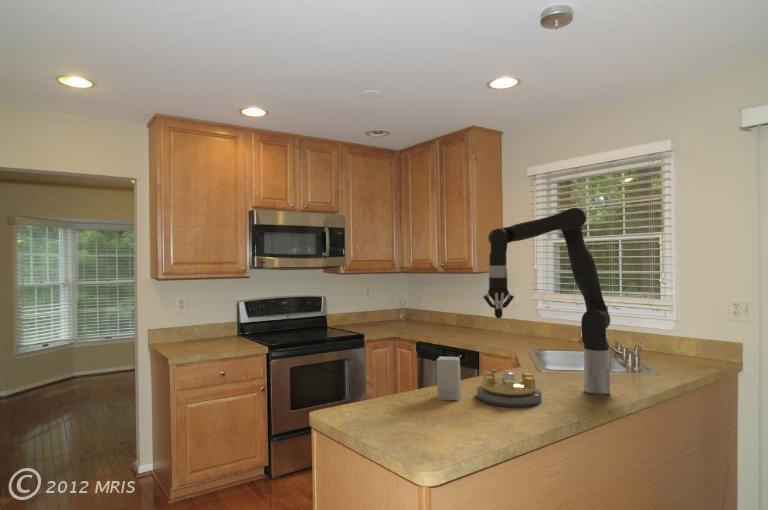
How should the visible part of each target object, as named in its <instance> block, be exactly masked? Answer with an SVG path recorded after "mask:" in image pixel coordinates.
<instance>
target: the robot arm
mask: <svg viewBox="0 0 768 510" xmlns="http://www.w3.org/2000/svg"><path fill="white" fill-rule="evenodd" d="M586 222H587V215H586V213H585V211H584V210H583V209H582V208H579V207H570V208H567V209H565V210H563V211H561V212H558V213H556V214H553V215H550V216H547V217H542V218H538V219H533V220H529V221H524V222H520V223H516V224H513V225H510V226H507V227H501V228H495V229H493V230H491V231H490V233H489V234H488V237H487V238H488V242H489V243H490V253H489V268H488V291H487V293H486V294H485V295H483V296H482V298H483V299H484V301H485V302H486V303H487V304H488V306H489V307H490V308H492V309H494V317H495V318H496V319H501V318H502V317H503V309H505V308H507V307H508V306H509V304H510V303H511V302H512V300H513V299H514V295H512V294H510V293H509V290H508V277H509V275H508V265H507V264H508V263H507V259H508V257H507V253H508V252H507V250H508V244H509V243H513V242H519V241H524V240H525V241H526V240H529V239H531V238H535V237H538V236H542V235H545V234H547V233H551V232H554V231H559V230H561V233H562V235H563V238H564V241H565V244H566V247H567V254H568V259H569V264H570V268H571V271H572V276H573V279H574V282H575V284H576V286H577V288H578V289H579V291H580V293H581V295H582V297H583V300H584V304H585V309H586V311H585V312H584V313H583V314H582V317H581V339H582V343H583V344H582V345H583V391H584V392H586V393H588V394H593V395H611V388H610V387H611V382H610V381H611V380H610V378H611V377H610V371H611V370H610V368H609V367H610V360H609V353H610V352H609V350H610V349H609V347H610V346H609V342H608V341H607V328H609V326H610V324H611V316H610V314H609V311H608V308H607V305H606V303H605V300H604V298H603V294H602V289H601V284H600V283H601V282H600V279H599V276H598V270H597V267H596V263H595V260H594V257H593V254H592V253H591V252H590V250H589V248H588V247H587V244H586V242H585V239H584V236H583V235H584V234H583V229H582V227H583V226H584V225H585V223H586ZM490 298H491V299H492V300H491V299H490ZM505 299H506V300H505ZM504 300H505V301H504ZM492 301H493V302H492Z"/></svg>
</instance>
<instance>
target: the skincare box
mask: <svg viewBox="0 0 768 510" xmlns="http://www.w3.org/2000/svg"><path fill="white" fill-rule="evenodd" d="M436 382H437V383H436V384H437V386H436V387H437V400H443V401H444V400H446V401H459V400H460V399H461V397H462V384H461V382H462V381H461V360H460V356H441V355H440V356H439V357H438V358H437V359H436Z"/></svg>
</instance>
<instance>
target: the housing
mask: <svg viewBox="0 0 768 510" xmlns="http://www.w3.org/2000/svg"><path fill="white" fill-rule="evenodd" d="M476 399H477V400H478V401H479V402H481V403H482V404H486V405H489V406H492V407H493V406H495V407H500V408H508V409H524V408H530V407H531V408H532V407H535V406H538V405H540V404H541V403H542V391H541V390H540V389H539V388H536V393H535V394H533V395H530V396H525V397H503V396H497V395H492V394H489V393H486V392H484V391H483V390H482V385H480V386H478V387H476Z"/></svg>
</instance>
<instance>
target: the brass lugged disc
mask: <svg viewBox="0 0 768 510" xmlns="http://www.w3.org/2000/svg"><path fill="white" fill-rule="evenodd" d="M481 386H482V390H483V391H484V392H486V393H489V394H492V395H497V396H503V397H525V396H530V395H533V394H535V393H536V389H537V387H536V386H537V384H536V377H534V374H533V373H530V372H522V373H521V378H519V377H515V372H513V371H512V370H511V369H503V372H502V377H501V376H500V377H499V376H498V377H495V372H494V371H490V370H488V371H483V380H482V381H481Z"/></svg>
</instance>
